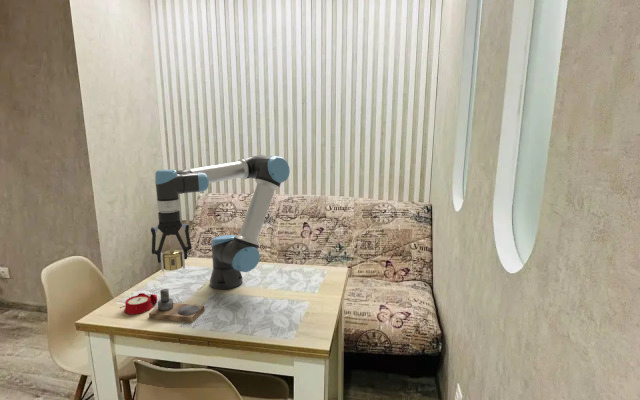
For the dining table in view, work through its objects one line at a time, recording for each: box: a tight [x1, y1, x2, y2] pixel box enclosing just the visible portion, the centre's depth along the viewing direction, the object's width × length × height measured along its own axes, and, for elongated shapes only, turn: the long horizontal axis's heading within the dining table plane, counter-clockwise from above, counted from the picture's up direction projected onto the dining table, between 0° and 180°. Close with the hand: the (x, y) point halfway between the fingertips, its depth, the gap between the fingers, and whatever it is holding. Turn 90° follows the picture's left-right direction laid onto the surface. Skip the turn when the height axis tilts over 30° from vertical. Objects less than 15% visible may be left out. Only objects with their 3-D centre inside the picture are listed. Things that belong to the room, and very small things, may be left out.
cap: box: [162, 247, 183, 272], centre depth 143 cm, size 7×7×7 cm
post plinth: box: [148, 288, 206, 323], centre depth 146 cm, size 18×10×10 cm, turn 79°
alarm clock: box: [119, 292, 158, 316], centre depth 152 cm, size 10×6×15 cm
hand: (173, 268), depth 143 cm, fingers closed on cap, 7 cm apart
